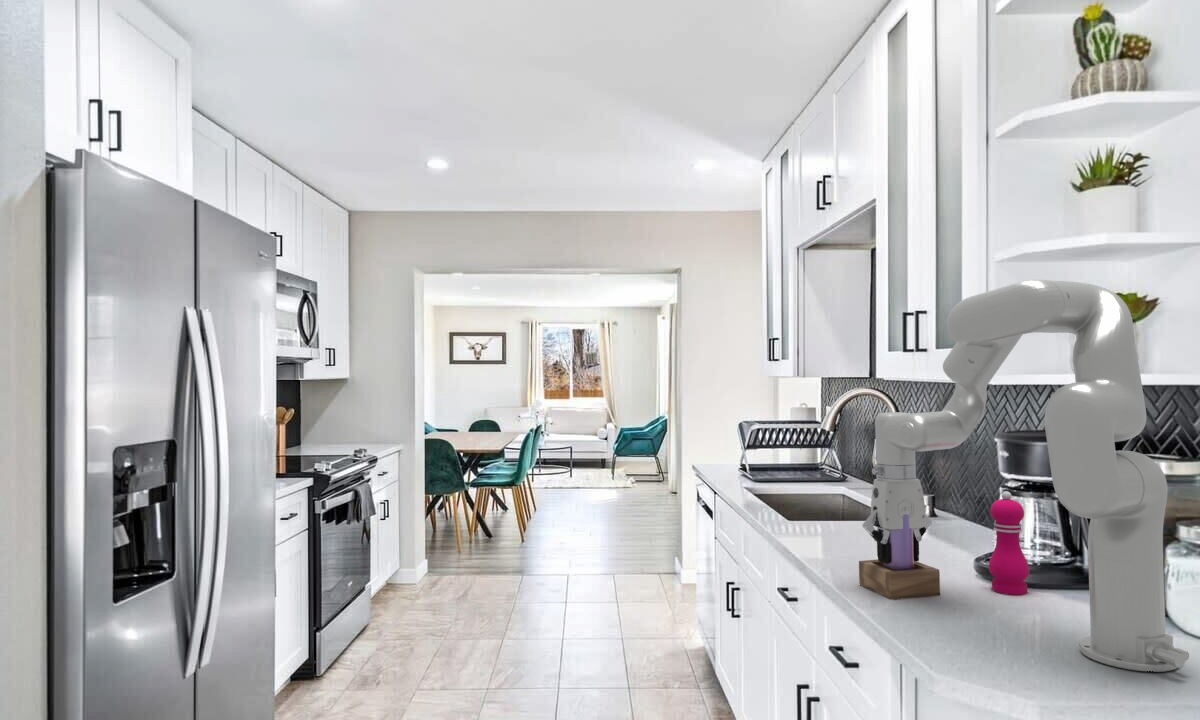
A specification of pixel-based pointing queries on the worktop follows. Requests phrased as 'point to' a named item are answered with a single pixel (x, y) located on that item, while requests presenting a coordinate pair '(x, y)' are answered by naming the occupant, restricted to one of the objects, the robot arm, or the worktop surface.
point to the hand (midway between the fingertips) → (898, 560)
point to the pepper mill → (1008, 548)
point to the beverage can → (901, 548)
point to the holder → (899, 580)
